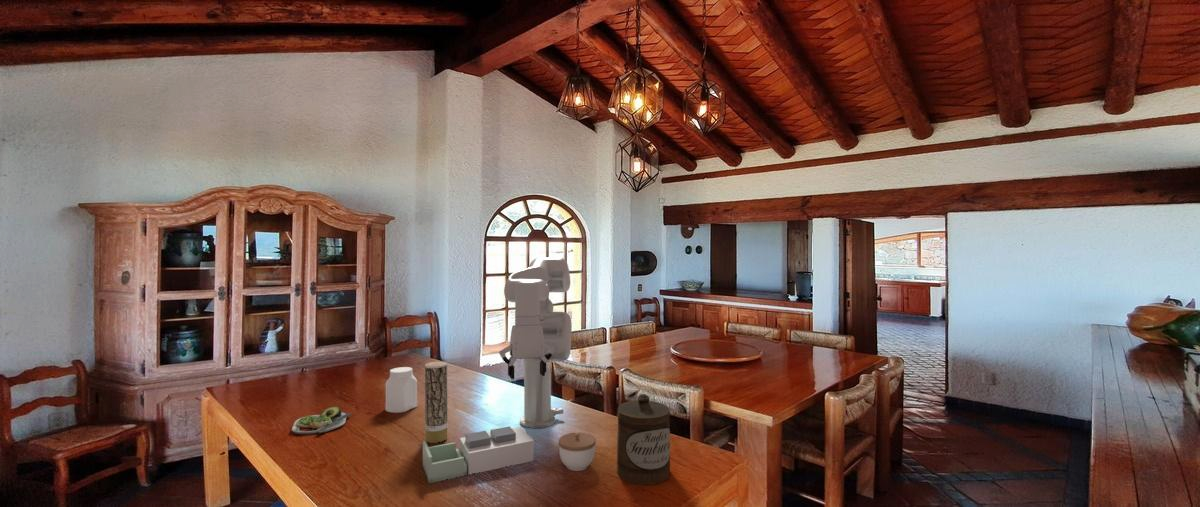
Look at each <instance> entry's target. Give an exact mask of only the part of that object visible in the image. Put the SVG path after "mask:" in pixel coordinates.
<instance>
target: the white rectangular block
mask: <svg viewBox="0 0 1200 507" xmlns="http://www.w3.org/2000/svg"><path fill="white" fill-rule="evenodd" d="M512 429H513V431H514V432H515V433H516V440H512V441H507V442H502V443H497V444H496V443H495V442H494V440H493V439H492V438H491V445H486V446H481V447H476V448H471V449H470V448H469V446H468V445H467V443H466V441H465V436H463V437H459V451H460V453H461V455H462V457H464V460H465V462H466V464H467V472H468V473H467V475H469V474H470V475H473V474H472V473H475V474H480V473H483V472H489V471H493V470H497V469H503V468H506V467H505V466H507V467H511V466H510V465H512V466H516V465H520V464H526V463H529V462H534V459H535V458H534V453H535V451H534V450H535V449H534V448H535V447H534V446H535V445H534V444H535V443H534V442H535V441H534V439H533V438H532V437H531V436H530V435H529V434H528V433H527V432H526V431H525V430H524V429H523V428H522V427H521V426H519V427H514V428H512ZM487 433H488V435H489V436H490V432H487ZM490 437H491V436H490ZM502 467H503V468H502ZM479 472H480V473H479Z"/></svg>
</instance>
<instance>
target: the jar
mask: <svg viewBox="0 0 1200 507" xmlns="http://www.w3.org/2000/svg"><path fill="white" fill-rule="evenodd" d="M384 385H385V386H384V387H385V412H387V413H393V414H394V413H395V414H397V413H405V412H407V411H409V410H411V409H412V410H413V409H414V408H417V407H418V380H417V378H416V377H415V375H414V373H413V368H412V367H409V366H402V367H394V368H391V369H390V370H389V378H388V379H387V380H386V382H385V384H384Z"/></svg>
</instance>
